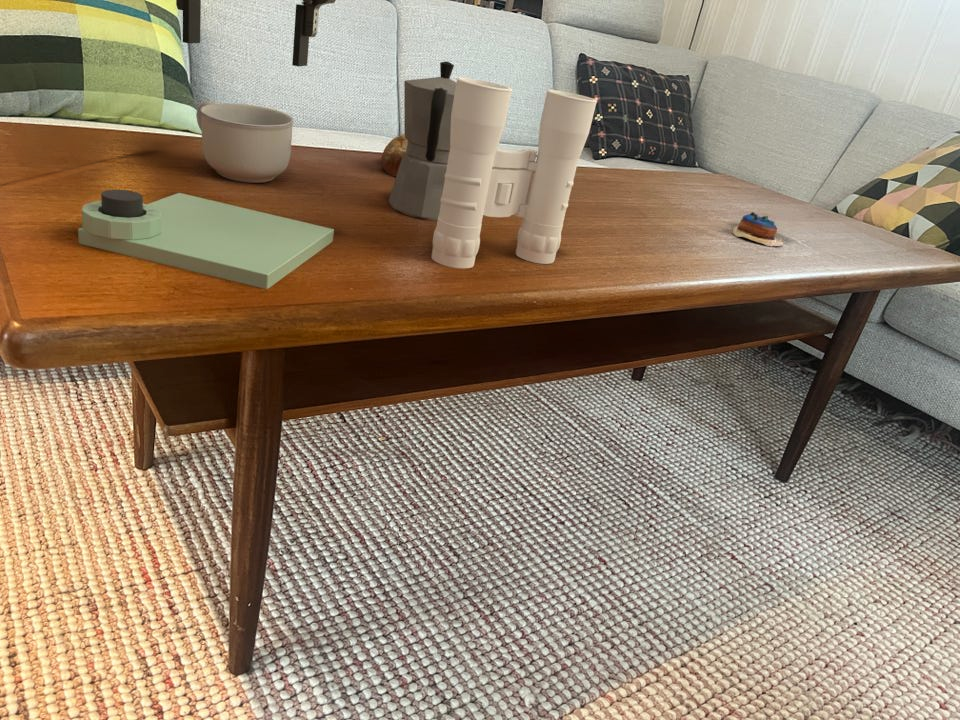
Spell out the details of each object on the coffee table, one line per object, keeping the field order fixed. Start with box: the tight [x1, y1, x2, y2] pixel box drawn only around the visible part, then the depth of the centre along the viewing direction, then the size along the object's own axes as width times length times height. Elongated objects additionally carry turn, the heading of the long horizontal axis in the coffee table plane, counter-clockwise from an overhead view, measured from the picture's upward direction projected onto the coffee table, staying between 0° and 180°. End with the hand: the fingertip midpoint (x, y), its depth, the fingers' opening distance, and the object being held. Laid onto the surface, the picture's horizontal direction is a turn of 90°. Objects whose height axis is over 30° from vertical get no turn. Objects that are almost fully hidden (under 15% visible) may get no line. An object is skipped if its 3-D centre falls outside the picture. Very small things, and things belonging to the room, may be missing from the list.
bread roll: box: [381, 133, 408, 177], centre depth 110 cm, size 10×10×8 cm
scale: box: [77, 192, 335, 290], centre depth 68 cm, size 18×16×3 cm
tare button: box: [100, 189, 144, 218], centre depth 63 cm, size 3×3×2 cm
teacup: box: [195, 100, 294, 184], centre depth 91 cm, size 14×11×8 cm
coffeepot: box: [388, 61, 457, 222], centre depth 89 cm, size 15×9×18 cm, turn 179°
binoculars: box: [431, 77, 598, 269], centre depth 77 cm, size 17×5×18 cm, turn 127°
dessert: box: [732, 211, 784, 247], centre depth 116 cm, size 8×7×6 cm
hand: (245, 54), depth 87 cm, fingers open, 13 cm apart
